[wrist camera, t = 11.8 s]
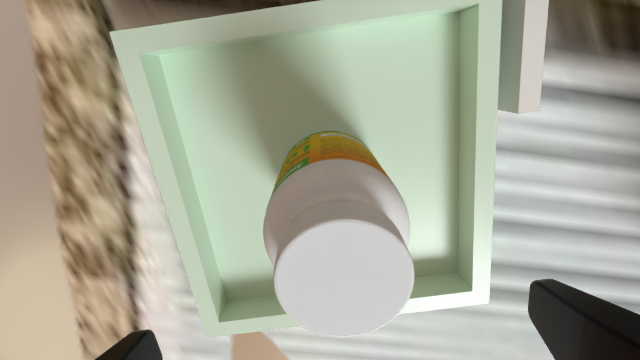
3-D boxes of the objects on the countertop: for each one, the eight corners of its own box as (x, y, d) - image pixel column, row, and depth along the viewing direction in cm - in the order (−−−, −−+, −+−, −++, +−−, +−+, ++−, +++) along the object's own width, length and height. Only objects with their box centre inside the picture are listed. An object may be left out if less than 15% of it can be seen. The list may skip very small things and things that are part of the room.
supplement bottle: (299, 113, 17) (280, 162, 8) (391, 147, 17) (477, 229, 8) (269, 202, 18) (223, 330, 9) (354, 229, 19) (392, 375, 10)
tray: (469, 277, 21) (489, 303, 19) (218, 308, 21) (206, 337, 19) (474, -12, 16) (503, -28, 13) (139, 38, 16) (109, 31, 14)
